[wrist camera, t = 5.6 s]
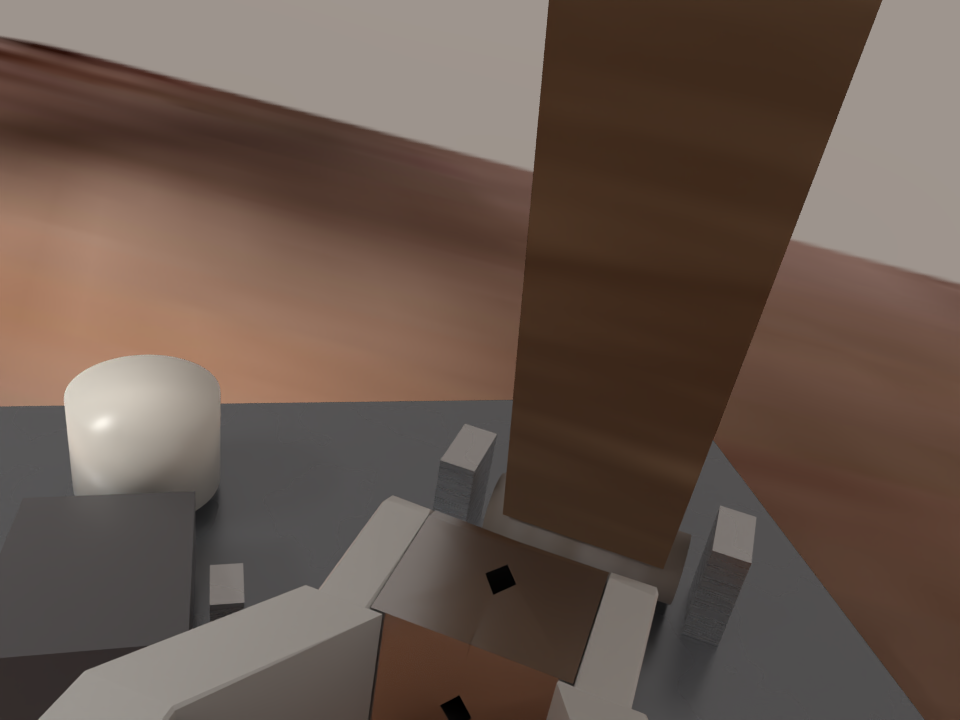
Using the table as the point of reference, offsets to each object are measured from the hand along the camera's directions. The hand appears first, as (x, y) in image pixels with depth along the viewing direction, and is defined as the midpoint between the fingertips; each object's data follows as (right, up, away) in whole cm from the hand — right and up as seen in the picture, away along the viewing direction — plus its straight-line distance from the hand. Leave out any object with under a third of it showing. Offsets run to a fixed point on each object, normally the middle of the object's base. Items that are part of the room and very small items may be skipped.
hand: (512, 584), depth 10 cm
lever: (+2, -2, +11) cm, 11 cm away
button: (-8, 0, +11) cm, 14 cm away
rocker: (-7, -2, +6) cm, 10 cm away
